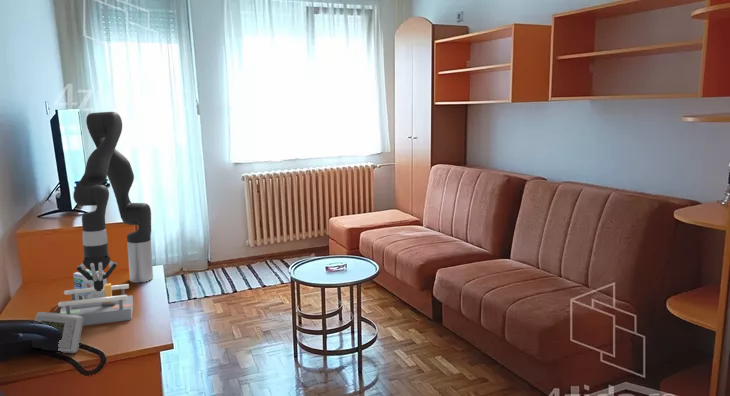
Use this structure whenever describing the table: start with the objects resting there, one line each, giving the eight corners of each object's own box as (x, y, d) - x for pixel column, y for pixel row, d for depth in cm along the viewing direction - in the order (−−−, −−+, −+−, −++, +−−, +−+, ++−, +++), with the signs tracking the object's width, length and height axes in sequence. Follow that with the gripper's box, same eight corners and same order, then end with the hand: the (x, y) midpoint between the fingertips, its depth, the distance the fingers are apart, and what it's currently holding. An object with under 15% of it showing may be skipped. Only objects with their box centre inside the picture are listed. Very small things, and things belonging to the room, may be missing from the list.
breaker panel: (65, 313, 184) (63, 289, 183) (133, 305, 192) (131, 282, 191) (58, 328, 172) (56, 303, 170) (131, 319, 180) (129, 295, 178)
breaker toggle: (103, 302, 184) (101, 283, 183) (115, 300, 185) (114, 282, 184) (102, 306, 180) (100, 287, 179) (114, 304, 182) (113, 285, 180)
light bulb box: (74, 300, 198) (72, 272, 196) (91, 294, 203) (88, 268, 202) (92, 305, 193) (90, 277, 191) (108, 299, 199) (106, 272, 197)
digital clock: (27, 349, 157) (24, 316, 155) (55, 337, 165) (52, 305, 164) (64, 359, 151) (61, 325, 149) (91, 347, 159) (89, 314, 157)
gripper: (117, 238, 184) (120, 284, 187) (75, 241, 179) (79, 289, 182) (115, 243, 177) (119, 291, 180) (71, 246, 172) (76, 296, 175)
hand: (99, 290), depth 181 cm, fingers closed
